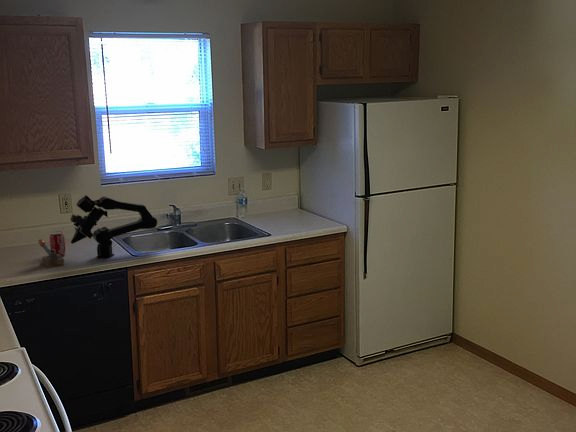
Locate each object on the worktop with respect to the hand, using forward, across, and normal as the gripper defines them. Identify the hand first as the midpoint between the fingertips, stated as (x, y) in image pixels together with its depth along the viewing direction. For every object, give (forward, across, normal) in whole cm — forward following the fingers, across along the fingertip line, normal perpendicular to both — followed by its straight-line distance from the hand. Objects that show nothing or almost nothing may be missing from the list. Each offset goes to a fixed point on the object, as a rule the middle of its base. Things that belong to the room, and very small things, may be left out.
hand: (71, 243), depth 312 cm
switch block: (+13, 0, 0) cm, 13 cm away
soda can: (+10, -14, +3) cm, 17 cm away
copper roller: (+11, 0, -2) cm, 11 cm away
